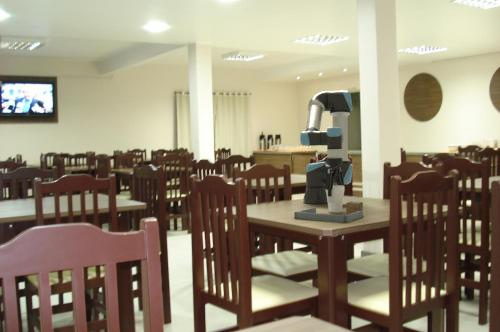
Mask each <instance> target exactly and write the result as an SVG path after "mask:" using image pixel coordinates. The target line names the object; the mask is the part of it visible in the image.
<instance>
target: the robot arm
mask: <svg viewBox="0 0 500 332" xmlns="http://www.w3.org/2000/svg"><path fill="white" fill-rule="evenodd" d="M307 110H308V115H307V120H306V127H305V131H301V132H300V136H299V137H300V140H299V141H300V144H301V146H307V147H310V146H311V147H312V146H313V147H314V146H317V147H318V146H326V148H327V149H326V156H327V159H326V161H320V162H312V163H308V164H307V165H306V166H305V179H306V181H305V186H306V187H305V192H304V195H303V203H304V204H311V205H315V204H316V205H317V204H320V205H322V204H328V203H333V190H332V188H333V185H341V186H344V187H345V185H349V184H350V183H352V177H353V170H354V164H352V163H351V160H350V158H349V155H348V152H349V151H348V150H349V149H348V148H349V147H348V146H349V145H348V144H349V143H348V142H349V141H348V140H349V139H348V138H349V137H348V135H349V134H348V132H349V129H348V126H349V124H348V123H349V122H348V118H349V116H350V115H351V112H352V111H354V109H353V102H352V95H351V91H350V90H325V91H324V90H323V91H320V92H318V93H316V94H315V95H314V96H313V97H311V99H310V100H309V102H308V104H307ZM324 112H329V115H330V116H331V117H332V126H328V127H327V128H326V129H327V130H322V131H321V125H322V117H323V113H324ZM326 190H328V201H327V194H326Z"/></svg>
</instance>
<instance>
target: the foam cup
mask: <svg viewBox="0 0 500 332" xmlns="http://www.w3.org/2000/svg"><path fill="white" fill-rule="evenodd" d="M332 190H333V203H327V207H328V213H333V214H334V213H336V214H337V213H342V212H343V204H344V203H343V202H344V194H345V190H346V189H345V185H344V186H341V185H337V184H333V188H332ZM326 194H327V201H328V190H326Z"/></svg>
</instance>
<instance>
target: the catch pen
mask: <svg viewBox="0 0 500 332" xmlns="http://www.w3.org/2000/svg"><path fill="white" fill-rule="evenodd" d="M293 215H294V216H293V217H294V219H297V220H298V219H299V220H309V221H320V222H321V221H323V222H334V223H344V224H346V223H349V222H352V221H355V220H359V219H362V218H364V210H363V211H358V212H354V213H351V214H348V215H346V214H345V215H343V214H342V215H341V214H329V213H327V214H326V213H317V207H315V206H313V207H310V208H305V209H301V210H298V211H294V214H293Z"/></svg>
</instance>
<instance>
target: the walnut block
mask: <svg viewBox="0 0 500 332" xmlns="http://www.w3.org/2000/svg"><path fill="white" fill-rule="evenodd" d="M345 207H346V208H345V210H346V211H345V213H346V214H345V215H348V214H351V213H354V212H358V211H363V212H364V202H363V201H348V202H346V205H345Z"/></svg>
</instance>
